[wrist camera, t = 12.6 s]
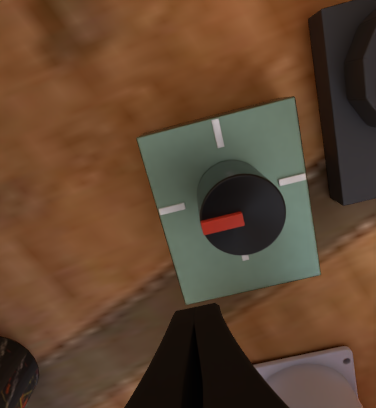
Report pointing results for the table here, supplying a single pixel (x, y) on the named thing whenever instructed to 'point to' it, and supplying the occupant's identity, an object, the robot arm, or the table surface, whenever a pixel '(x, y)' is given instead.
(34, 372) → the deodorant
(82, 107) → the table surface
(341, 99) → the base
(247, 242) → the lock dial
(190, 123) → the dial panel
